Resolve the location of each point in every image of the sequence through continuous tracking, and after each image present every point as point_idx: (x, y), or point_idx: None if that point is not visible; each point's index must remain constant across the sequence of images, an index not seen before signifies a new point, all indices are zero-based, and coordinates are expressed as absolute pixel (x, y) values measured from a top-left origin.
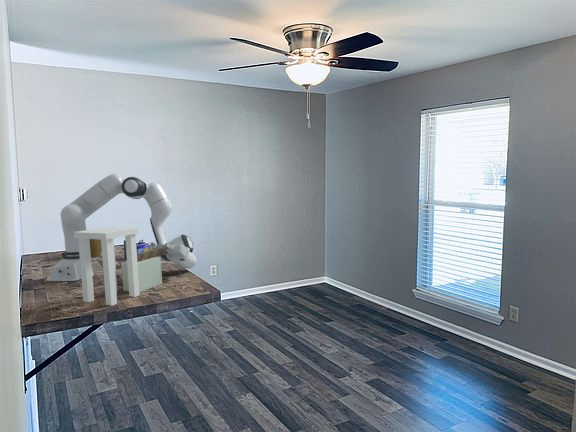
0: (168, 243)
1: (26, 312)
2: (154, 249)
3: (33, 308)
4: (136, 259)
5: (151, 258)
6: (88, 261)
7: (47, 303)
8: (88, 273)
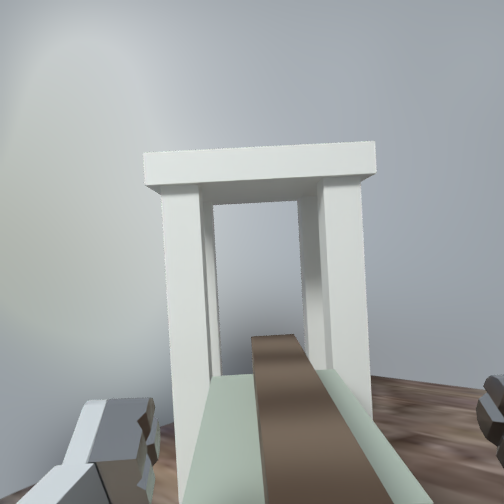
0: (82, 413)
1: (376, 376)
2: (372, 468)
3: (400, 385)
4: (169, 328)
5: (246, 462)
6: (303, 286)
7: (423, 401)
8: (305, 329)
